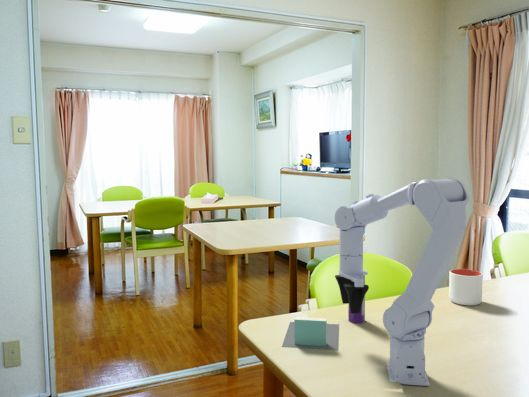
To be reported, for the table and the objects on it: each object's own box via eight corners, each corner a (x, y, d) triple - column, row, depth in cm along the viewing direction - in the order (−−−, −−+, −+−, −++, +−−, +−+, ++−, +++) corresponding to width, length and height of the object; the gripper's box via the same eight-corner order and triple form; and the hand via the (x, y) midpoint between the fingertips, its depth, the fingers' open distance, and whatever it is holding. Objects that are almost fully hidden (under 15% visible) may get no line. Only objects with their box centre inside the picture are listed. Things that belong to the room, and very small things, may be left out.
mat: (338, 352, 112) (338, 350, 112) (281, 349, 114) (281, 346, 114) (339, 326, 130) (339, 324, 129) (290, 323, 132) (290, 321, 132)
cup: (442, 300, 153) (442, 270, 153) (463, 296, 158) (464, 267, 157) (466, 308, 144) (467, 277, 144) (488, 304, 149) (489, 274, 148)
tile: (326, 346, 114) (326, 321, 114) (294, 344, 116) (294, 319, 115) (326, 343, 116) (326, 318, 116) (295, 341, 118) (295, 317, 117)
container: (346, 323, 132) (346, 272, 130) (351, 318, 136) (351, 269, 135) (362, 326, 129) (362, 274, 128) (366, 321, 134) (367, 271, 132)
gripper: (376, 259, 106) (376, 317, 107) (358, 248, 120) (358, 298, 121) (346, 260, 105) (346, 318, 106) (332, 248, 119) (332, 299, 120)
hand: (350, 307), depth 113 cm, fingers open, 7 cm apart
